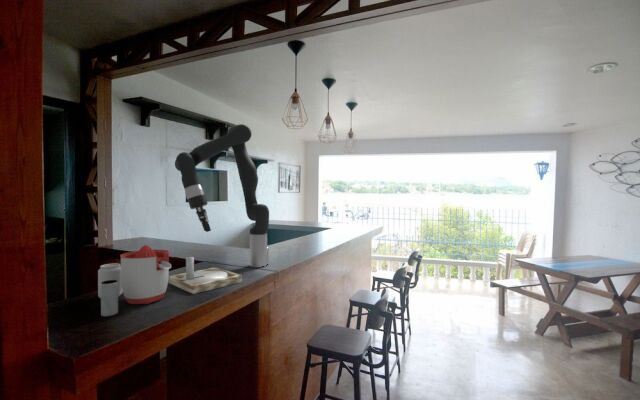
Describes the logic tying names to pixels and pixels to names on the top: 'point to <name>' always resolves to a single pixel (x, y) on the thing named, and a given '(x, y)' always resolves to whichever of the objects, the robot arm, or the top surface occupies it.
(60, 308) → the top surface
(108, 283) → the grey tall cylinder
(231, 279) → the dial housing
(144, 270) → the citrus juicer
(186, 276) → the dial
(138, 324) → the top surface
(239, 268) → the top surface
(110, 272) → the can
